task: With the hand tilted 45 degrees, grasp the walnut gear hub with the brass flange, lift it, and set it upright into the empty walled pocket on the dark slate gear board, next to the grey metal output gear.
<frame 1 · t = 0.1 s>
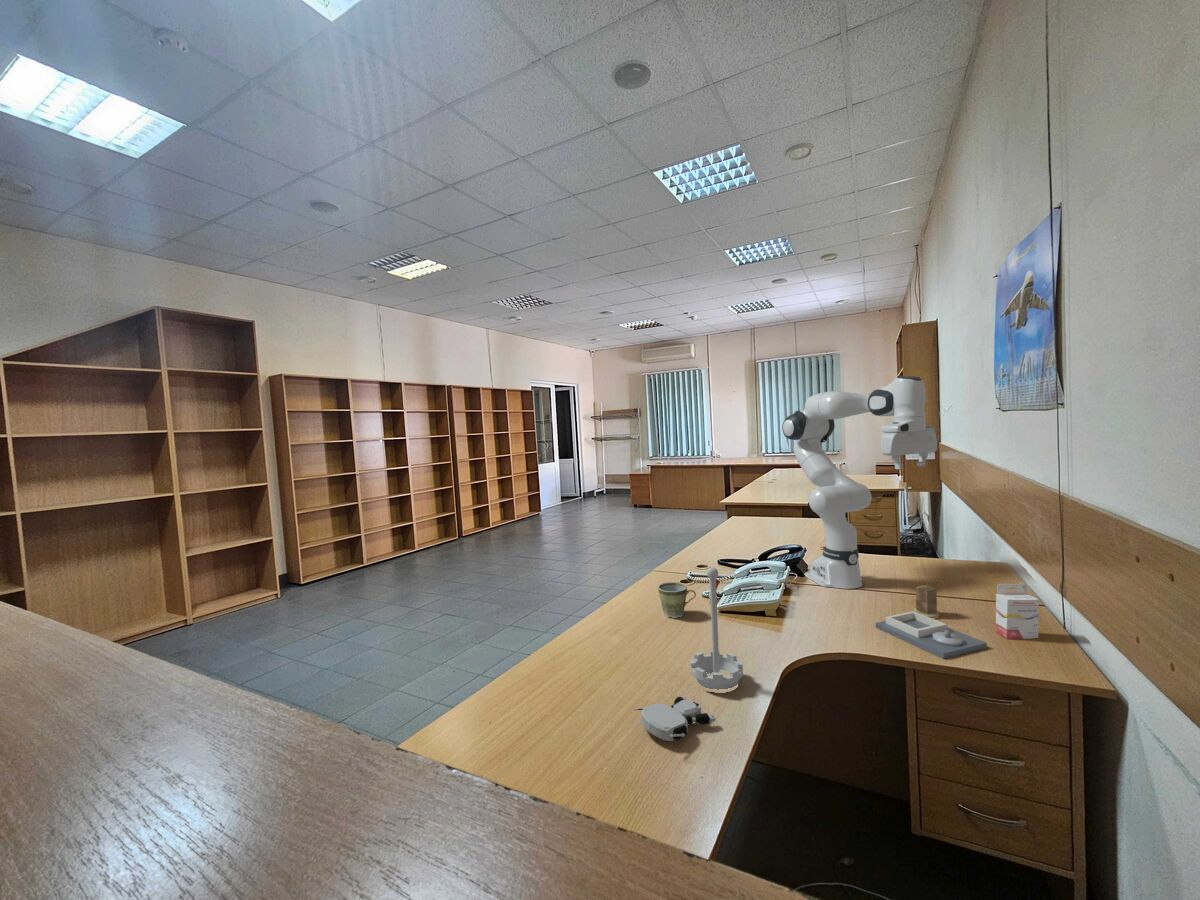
hand: (910, 467, 162), 48 cm above the table, tool pointing down, fingers open, 8 cm apart
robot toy: (675, 728, 109), on the table
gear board: (928, 637, 145), on the table
ceramic cup: (678, 615, 171), on the table
ink cartridge box: (1017, 636, 143), on the table
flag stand: (717, 682, 127), on the table
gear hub: (926, 614, 161), on the table
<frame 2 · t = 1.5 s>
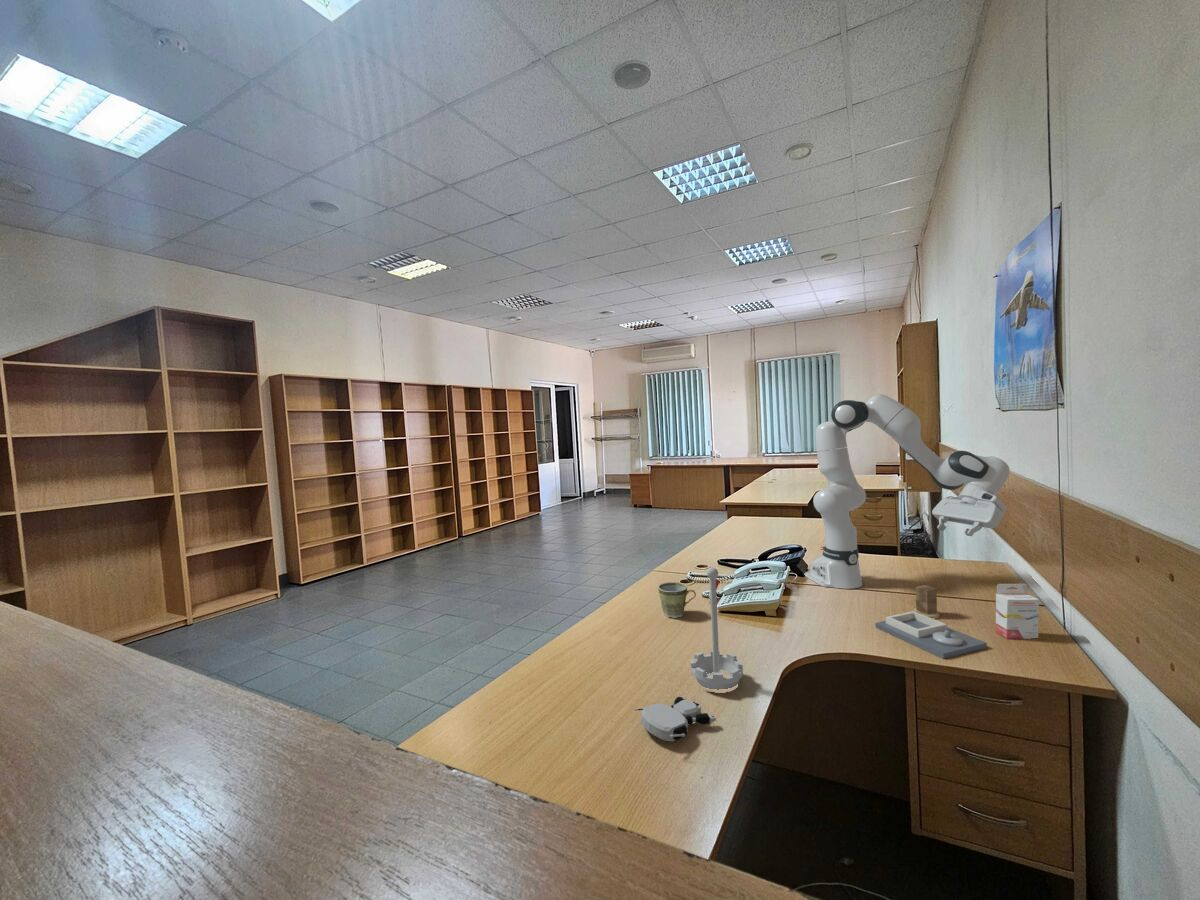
hand: (953, 532, 162), 26 cm above the table, tool tilted 45°, fingers open, 8 cm apart
nothing on the table moved.
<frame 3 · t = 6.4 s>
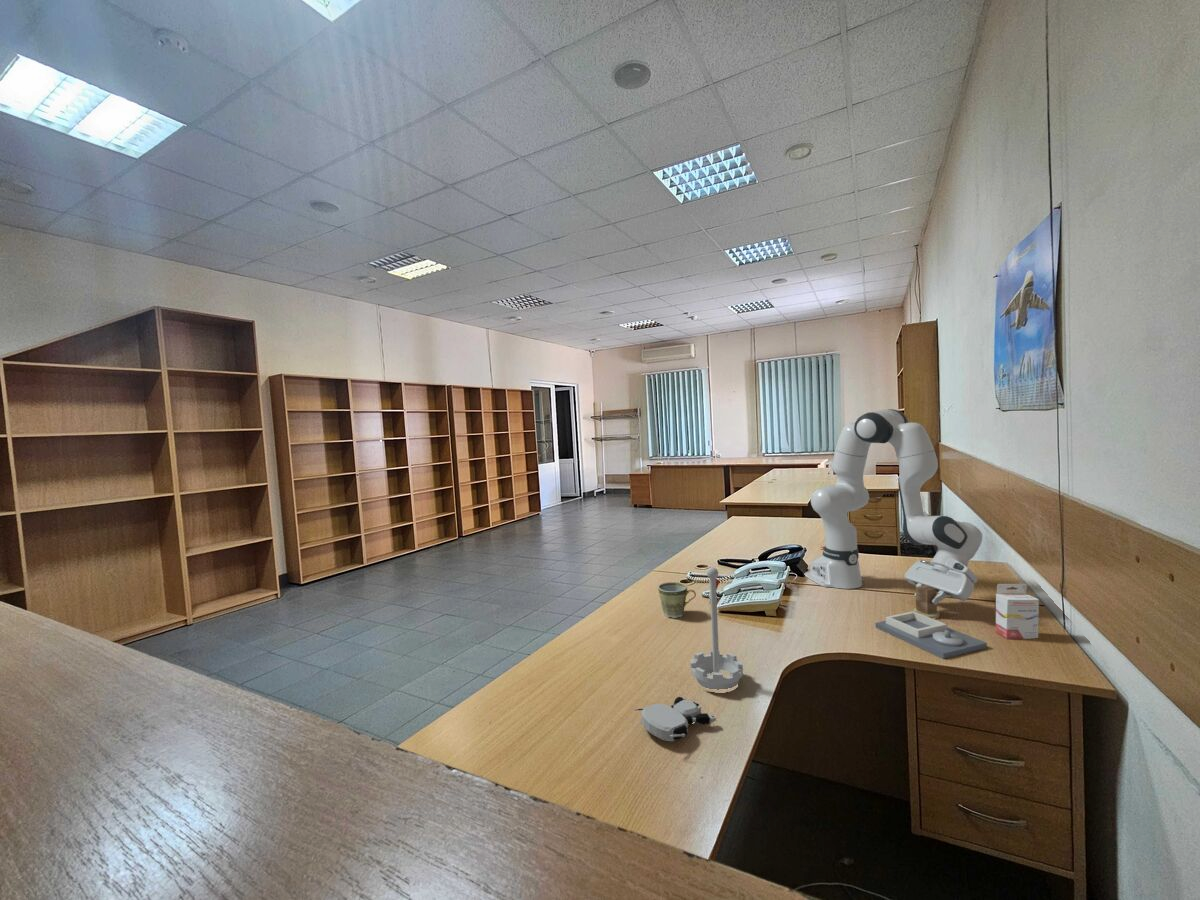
hand: (924, 600, 160), 5 cm above the table, tool tilted 45°, fingers closed on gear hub, 4 cm apart
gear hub: (926, 614, 161), on the table, touching gripper
everything else where it was.
when the fingers open (7 cm above the table, at t = 12.5 s): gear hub stays where it is, resting on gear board.
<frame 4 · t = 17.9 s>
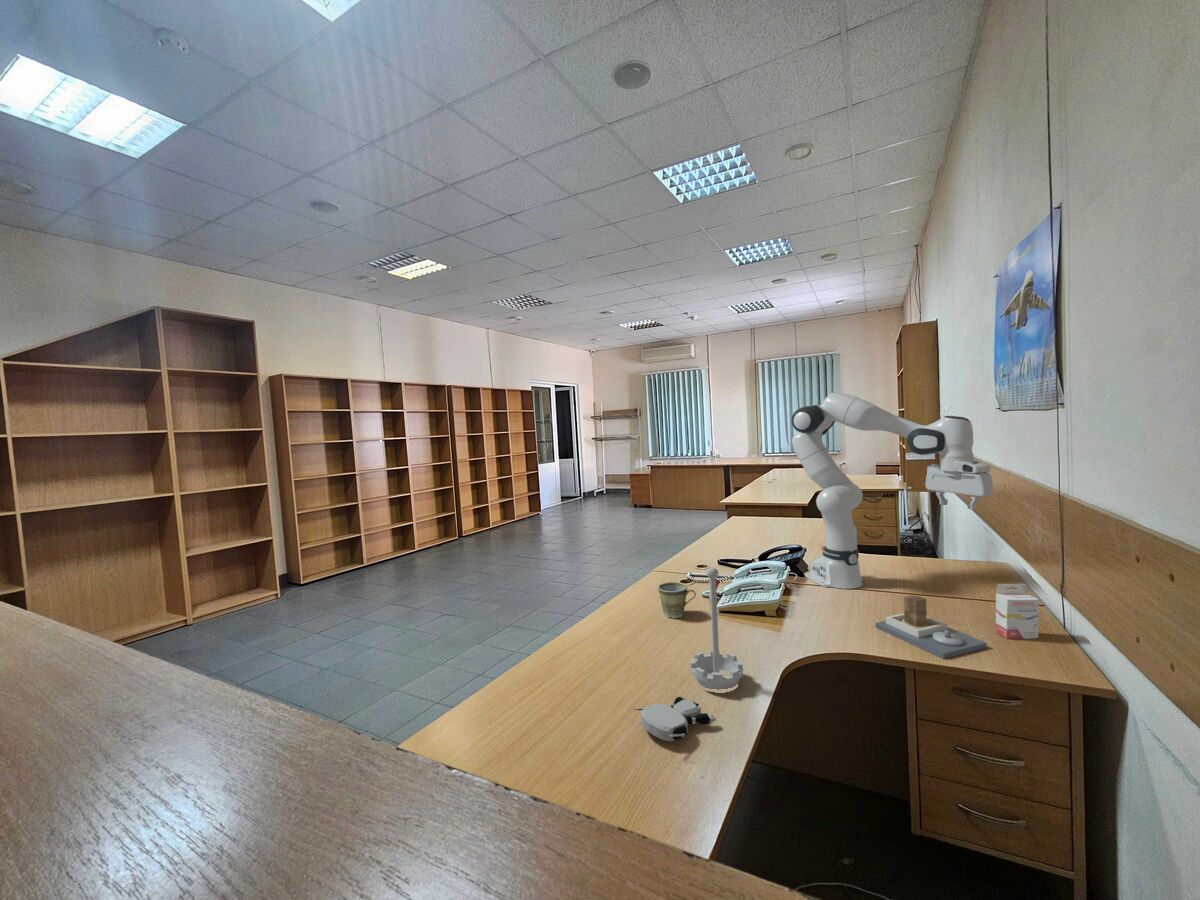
hand: (957, 506, 163), 34 cm above the table, tool pointing down, fingers open, 8 cm apart
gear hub: (915, 626, 149), point 1 cm above the table, touching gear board
everything else where it was.
at the end: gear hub 0.1 cm from the target spot on the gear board, point 1.5 cm above the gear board's base; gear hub tilted 0°; the gripper is holding nothing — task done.
